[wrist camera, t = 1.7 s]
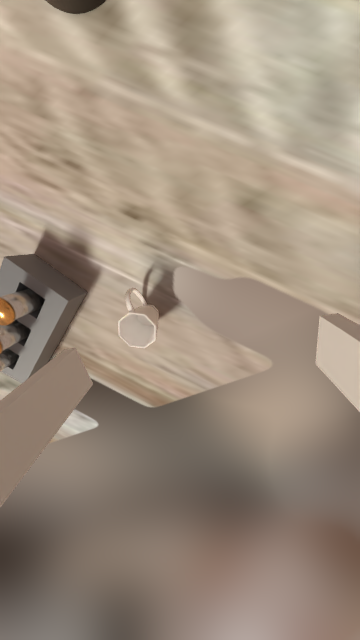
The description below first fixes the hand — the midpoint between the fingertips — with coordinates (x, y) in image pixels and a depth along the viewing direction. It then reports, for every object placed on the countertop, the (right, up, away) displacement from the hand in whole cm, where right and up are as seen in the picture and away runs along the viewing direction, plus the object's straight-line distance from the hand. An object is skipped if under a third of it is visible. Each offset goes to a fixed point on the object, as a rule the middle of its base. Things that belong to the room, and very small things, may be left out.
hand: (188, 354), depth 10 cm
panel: (-32, +2, +32) cm, 45 cm away
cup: (-7, +5, +28) cm, 30 cm away
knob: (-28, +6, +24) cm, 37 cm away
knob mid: (-33, 0, +27) cm, 43 cm away
